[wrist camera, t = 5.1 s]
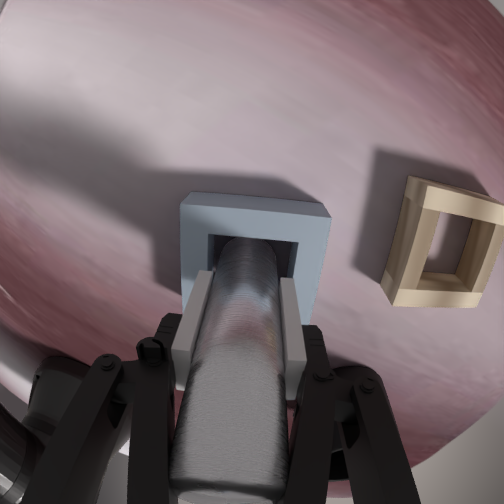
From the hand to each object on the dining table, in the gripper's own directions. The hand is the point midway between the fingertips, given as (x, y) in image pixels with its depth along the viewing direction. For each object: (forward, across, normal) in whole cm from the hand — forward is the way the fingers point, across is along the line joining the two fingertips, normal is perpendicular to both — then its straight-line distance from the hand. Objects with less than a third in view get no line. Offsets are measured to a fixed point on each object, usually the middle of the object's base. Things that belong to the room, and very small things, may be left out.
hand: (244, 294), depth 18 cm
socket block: (+5, 0, 0) cm, 5 cm away
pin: (+4, 0, 0) cm, 4 cm away
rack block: (+5, +15, +3) cm, 16 cm away
